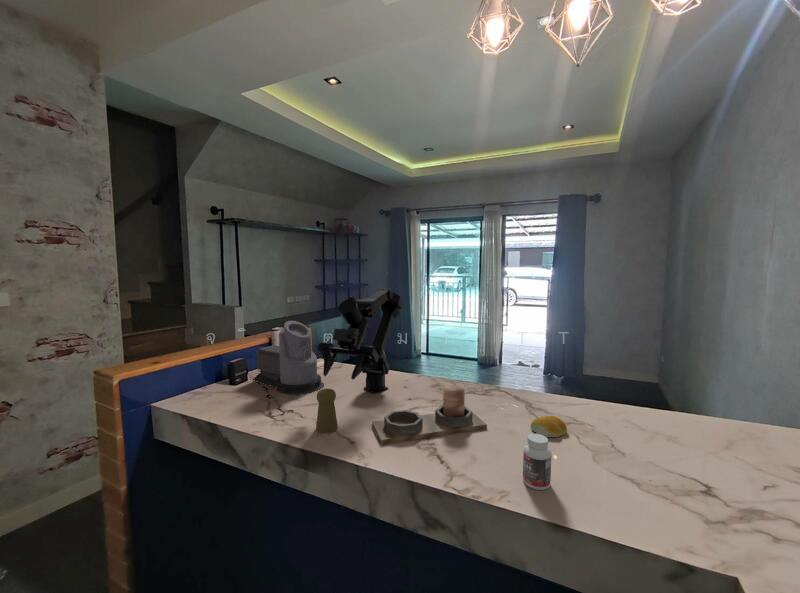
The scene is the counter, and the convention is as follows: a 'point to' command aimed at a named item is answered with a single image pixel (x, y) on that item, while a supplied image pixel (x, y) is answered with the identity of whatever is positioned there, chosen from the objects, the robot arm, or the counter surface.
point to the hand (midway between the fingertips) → (338, 377)
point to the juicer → (290, 362)
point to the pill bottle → (537, 462)
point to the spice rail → (430, 420)
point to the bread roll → (549, 426)
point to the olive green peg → (326, 412)
